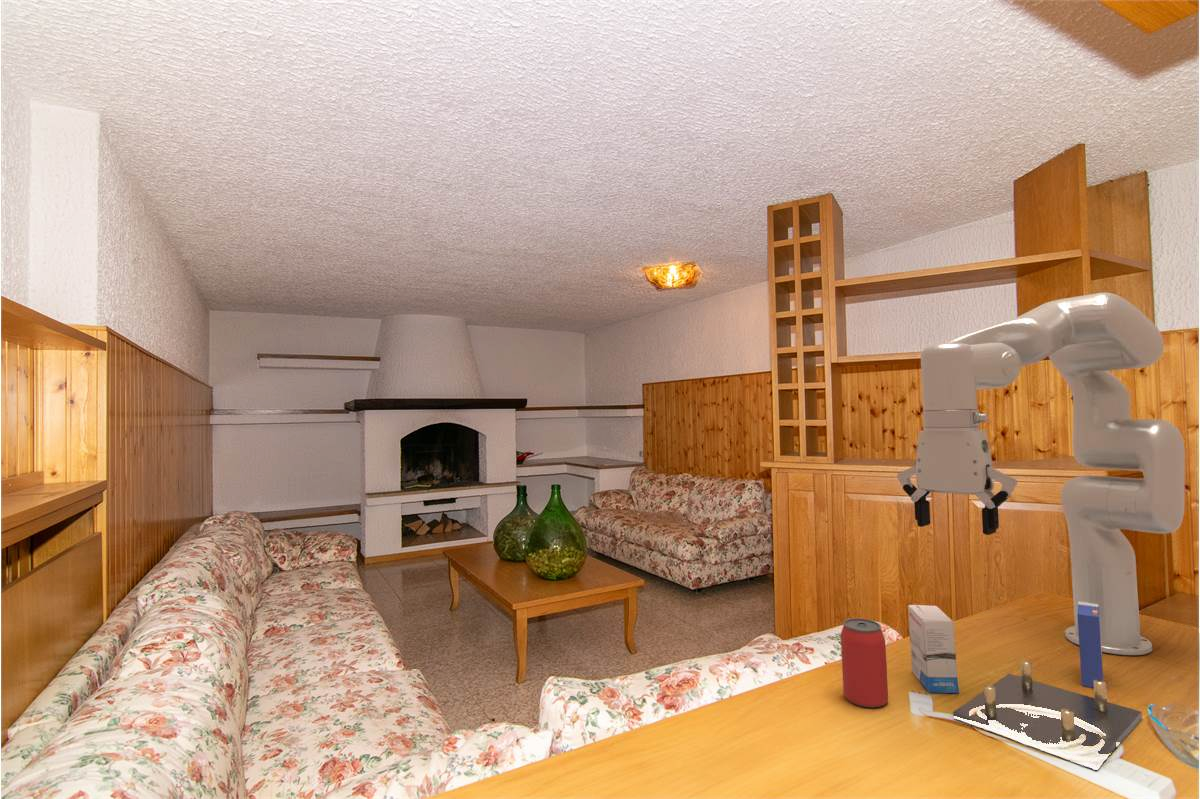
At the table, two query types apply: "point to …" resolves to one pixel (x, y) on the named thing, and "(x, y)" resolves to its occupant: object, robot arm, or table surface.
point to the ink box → (933, 649)
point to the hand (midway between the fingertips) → (955, 529)
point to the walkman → (1089, 643)
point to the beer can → (864, 663)
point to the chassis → (1070, 704)
